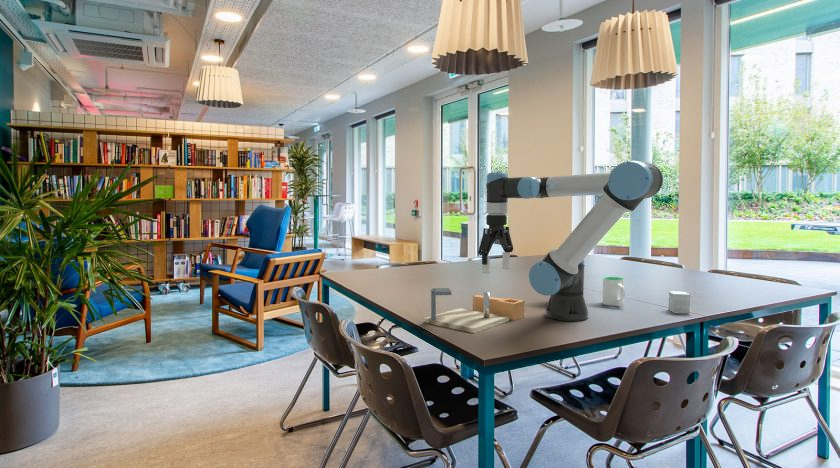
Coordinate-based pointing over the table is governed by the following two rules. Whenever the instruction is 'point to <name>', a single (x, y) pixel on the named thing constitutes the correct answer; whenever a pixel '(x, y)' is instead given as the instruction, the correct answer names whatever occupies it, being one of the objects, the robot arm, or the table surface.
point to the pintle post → (486, 304)
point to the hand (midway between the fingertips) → (496, 271)
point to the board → (466, 320)
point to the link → (501, 306)
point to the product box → (679, 302)
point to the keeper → (433, 299)
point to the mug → (613, 291)
